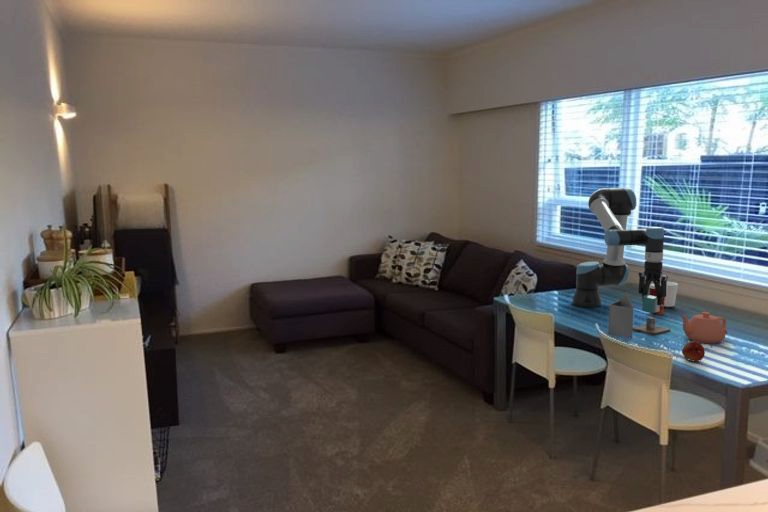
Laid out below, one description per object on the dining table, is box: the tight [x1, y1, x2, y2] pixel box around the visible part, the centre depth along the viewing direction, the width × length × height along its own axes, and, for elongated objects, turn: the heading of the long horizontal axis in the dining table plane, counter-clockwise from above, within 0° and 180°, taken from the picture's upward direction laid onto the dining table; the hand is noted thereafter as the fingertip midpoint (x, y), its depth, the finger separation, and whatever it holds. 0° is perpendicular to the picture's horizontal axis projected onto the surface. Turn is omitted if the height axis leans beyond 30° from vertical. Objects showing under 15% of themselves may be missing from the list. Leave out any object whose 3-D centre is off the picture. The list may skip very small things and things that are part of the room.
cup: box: [660, 281, 679, 309], centre depth 320 cm, size 10×10×13 cm
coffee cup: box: [649, 283, 667, 316], centre depth 306 cm, size 8×8×15 cm
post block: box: [633, 316, 671, 336], centre depth 276 cm, size 12×12×6 cm
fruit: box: [681, 341, 706, 362], centre depth 234 cm, size 8×8×8 cm
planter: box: [608, 291, 634, 339], centre depth 273 cm, size 16×8×19 cm, turn 178°
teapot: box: [680, 311, 728, 344], centre depth 260 cm, size 22×16×12 cm
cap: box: [641, 294, 656, 314], centre depth 275 cm, size 5×5×7 cm
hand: (651, 310), depth 275 cm, fingers closed on cap, 5 cm apart
